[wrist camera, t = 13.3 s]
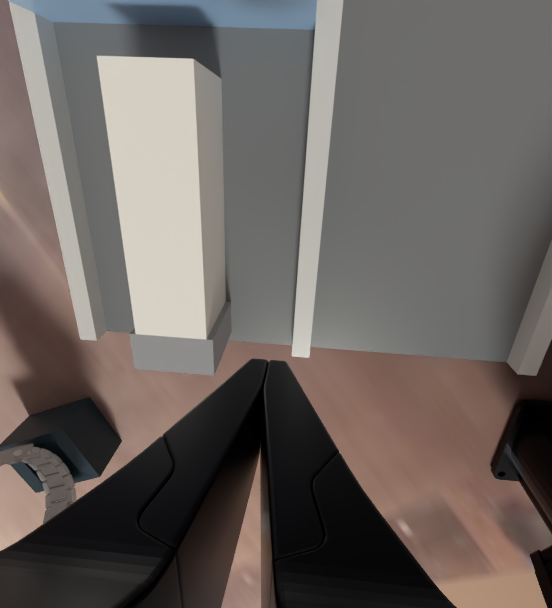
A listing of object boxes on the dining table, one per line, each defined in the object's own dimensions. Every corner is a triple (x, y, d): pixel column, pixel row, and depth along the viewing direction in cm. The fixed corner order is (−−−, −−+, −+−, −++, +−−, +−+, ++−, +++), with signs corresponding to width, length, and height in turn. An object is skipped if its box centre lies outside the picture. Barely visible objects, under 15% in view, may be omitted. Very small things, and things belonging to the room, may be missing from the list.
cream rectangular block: (231, 331, 22) (214, 375, 18) (166, 327, 22) (134, 369, 18) (228, 79, 16) (201, 58, 12) (141, 76, 16) (88, 55, 12)
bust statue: (77, 474, 29) (-45, 651, 19) (13, 397, 26) (-171, 558, 16) (136, 459, 28) (38, 641, 18) (76, 377, 25) (-81, 537, 15)
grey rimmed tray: (519, 358, 21) (563, 403, 18) (95, 325, 23) (55, 361, 19) (658, -3, 14) (778, -52, 11) (31, -18, 16) (-52, -66, 12)
